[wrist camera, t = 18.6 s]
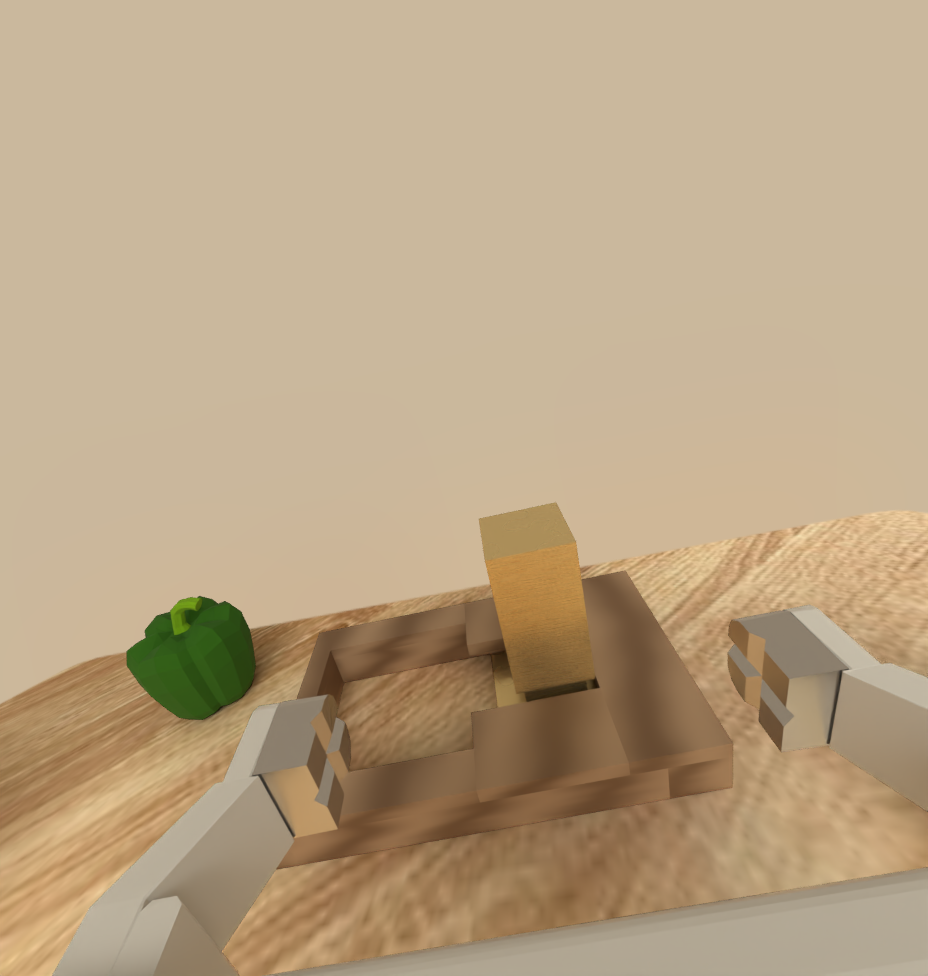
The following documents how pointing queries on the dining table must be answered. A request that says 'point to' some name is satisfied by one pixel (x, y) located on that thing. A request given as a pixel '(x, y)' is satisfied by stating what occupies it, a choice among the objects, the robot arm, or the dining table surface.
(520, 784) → the walnut keyhole plate
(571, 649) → the brass peg
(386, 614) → the dining table surface
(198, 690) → the bell pepper
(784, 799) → the dining table surface
